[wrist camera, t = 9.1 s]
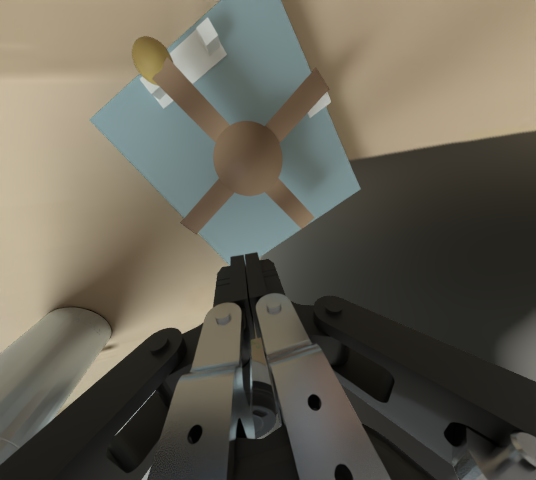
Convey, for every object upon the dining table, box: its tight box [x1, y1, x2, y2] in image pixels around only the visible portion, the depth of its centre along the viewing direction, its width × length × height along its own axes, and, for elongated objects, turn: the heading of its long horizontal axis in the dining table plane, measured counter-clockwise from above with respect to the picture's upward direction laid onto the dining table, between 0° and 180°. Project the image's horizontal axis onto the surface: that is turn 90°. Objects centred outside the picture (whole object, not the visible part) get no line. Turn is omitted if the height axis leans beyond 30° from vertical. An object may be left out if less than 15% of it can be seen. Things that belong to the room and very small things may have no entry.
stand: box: [90, 0, 360, 265], centre depth 21 cm, size 21×22×5 cm
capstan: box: [132, 36, 329, 234], centre depth 18 cm, size 19×17×5 cm
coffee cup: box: [251, 319, 277, 439], centre depth 28 cm, size 9×9×15 cm
